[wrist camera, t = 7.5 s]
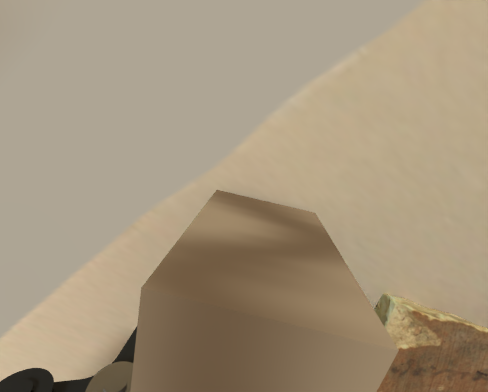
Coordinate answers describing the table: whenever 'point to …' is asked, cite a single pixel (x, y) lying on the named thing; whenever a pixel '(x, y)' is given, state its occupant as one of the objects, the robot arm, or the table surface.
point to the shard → (432, 349)
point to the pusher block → (257, 309)
